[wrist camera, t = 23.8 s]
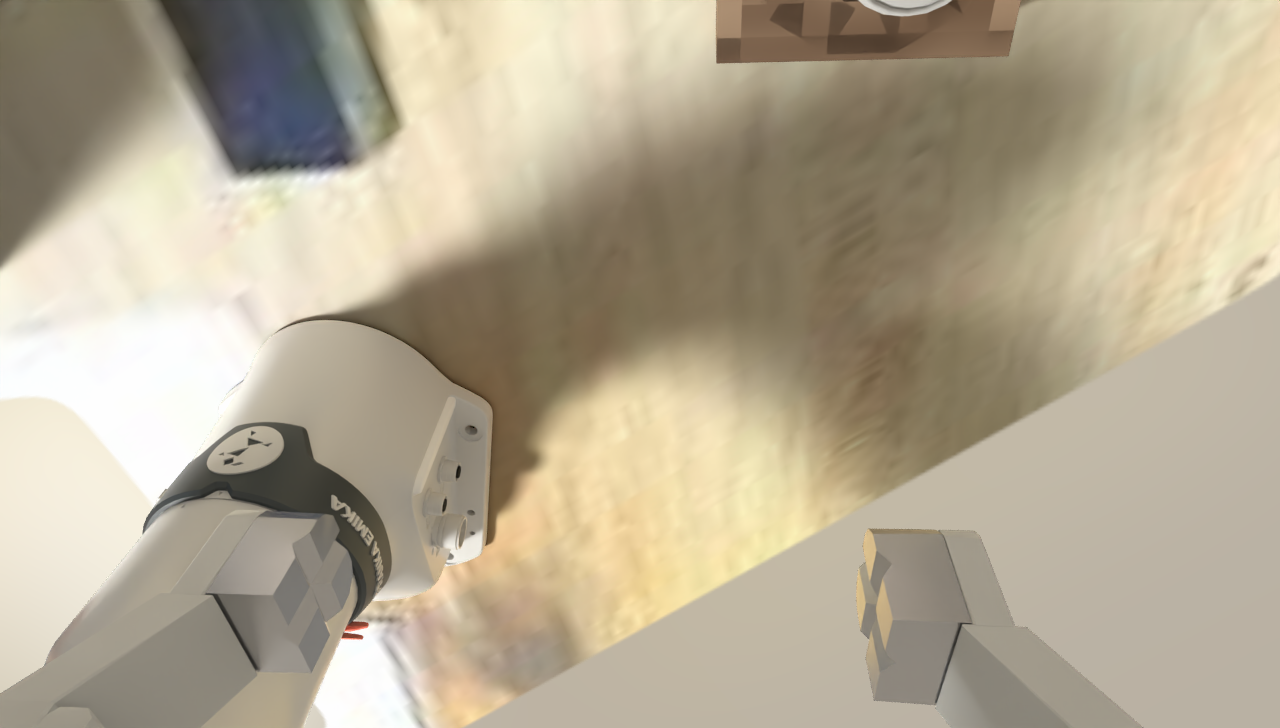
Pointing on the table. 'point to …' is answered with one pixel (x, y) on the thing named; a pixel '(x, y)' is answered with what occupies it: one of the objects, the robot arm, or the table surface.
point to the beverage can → (904, 6)
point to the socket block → (859, 31)
